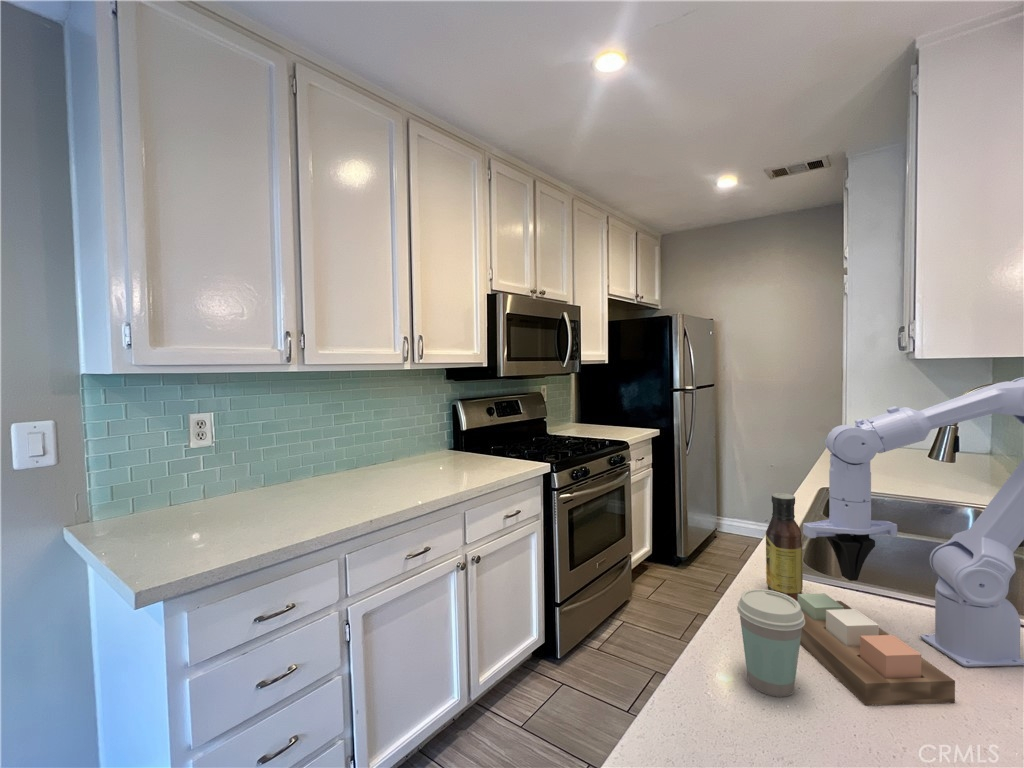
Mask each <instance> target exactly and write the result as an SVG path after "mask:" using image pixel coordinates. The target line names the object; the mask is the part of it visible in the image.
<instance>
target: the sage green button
mask: <svg viewBox="0 0 1024 768" xmlns="http://www.w3.org/2000/svg"><path fill="white" fill-rule="evenodd" d="M836 601H837V600H835V599H833V598H832V597H831V596H829V595H828V594H827V593H825V592H824V593H802V594H798V599H797V602H798V603H799V604H800V607H801V610H803V611H804V612H805V613H806V614H807V615H809V616H810V617H811V618H812V619H813V620H826V610H838V609H844V607H843V606H842V605H840V604H839V603H838V602H836Z"/></svg>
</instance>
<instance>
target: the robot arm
mask: <svg viewBox="0 0 1024 768" xmlns="http://www.w3.org/2000/svg"><path fill="white" fill-rule="evenodd" d="M992 414H1000V415H1010V416H1012V417H1014V418H1015V419H1016V420H1017V421H1018V422H1019V423H1020V424H1021V425H1023V426H1024V376H1022V377H1019V378H1015V379H1013V380H1011V381H1002V382H997V383H994V384H992V385H988V386H985V387H981V388H980V389H977V390H974V391H972V392H968V393H966V394H962V395H960V396H957V397H955V398H952V399H948V400H946V401H943V402H940V403H937V404H935V405H931V406H930V407H926V408H924V409H921V410H916V409H913V408H911V407H908V406H904V407H900V408H899V406H895V405H894V406H890V407H888V408H886V412H885V413H882V414H879V415H876V416H873V417H869V418H867V419H863V418H862V417H861V418H860V417H859V418H857V419H854V424H855V425H852V424H841V425H838V426H835V427H833V428H832V429H831V431H829V433H828V434H827V438H826V439H825V440H824V442H825V447H826V449H827V450H828V451H829V453H830V455H829V456H830V457H829V459H830V460H829V463H830V464H829V465H830V466H829V470H828V471H829V474H828V479H829V480H828V481H829V482H828V483H829V485H828V486H829V487H828V490H829V492H828V493H829V495H828V496H829V501H828V502H829V503H828V504H829V505H828V507H829V512H828V513H829V516H828V519H823V520H818V521H813V522H803V523H802V531H803V533H802V535H804V536H805V537H807V538H810V539H816V538H817V537H825V538H826V539H827V541H828V543H829V545H830V546H831V548H832V550H833V552H834V555H835V557H836V560H837V562H838V566H839V570H840V574H841V576H842V577H843V578H845V579H847V580H848V581H850V582H852V581H854V582H855V581H856V582H858V580H859V576H860V574H861V571H862V567H863V565H864V564H865V561H866V559H867V558H868V556H869V555H870V553H871V552H872V551H873V549H875V547H876V541H875V539H873V538H871V537H870V536H890V537H897V536H898V524H897V523H894V522H891V521H889V520H872V472H871V461H872V460H873V459H874V458H875V457H876V455H877V453H878V454H883V453H887V452H889V451H893V450H896V449H897V450H898V449H901V448H903V447H906V446H910V445H913V444H917V443H920V442H924V441H925V440H926V439H927V437H928V436H929V434H930V432H931V431H932V430H935V429H939V428H942V427H947V426H950V425H954V424H959V423H962V422H966V421H970V420H973V419H974V420H975V419H977V418H981V417H984V416H988V415H992ZM1023 541H1024V458H1023V459H1021V461H1020V462H1019V464H1018V465H1017V466H1016V468H1015V469H1014V471H1012V473H1011V474H1010V475H1009V477H1008V478H1007V479H1006V481H1005V482H1004V483H1003V485H1002V486H1000V488H999V490H998V492H996V494H995V495H994V496H993V498H992V499H991V500H990V501H989V502H988V504H987V505H986V507H985V508H984V509H983V510H982V511H981V513H980V514H979V516H978V517H977V518H976V519H975V521H974V522H973V524H972V525H971V526H970V527H969V528H968V529H965V530H963V531H960V532H956V533H954V534H953V535H952V536H951V538H950V539H949V540H948V541H947V542H945V543H941V544H940V545H938V546H936V547H934V549H933V550H932V551H931V553H930V555H929V565H930V567H931V569H932V571H933V572H934V573H935V574H936V575H937V576H938V580H937V582H936V583H935V587H934V588H935V592H934V593H935V594H934V596H935V598H934V601H935V602H934V603H935V604H934V606H935V610H934V613H935V614H934V615H935V616H934V624H935V625H934V633H928V634H927V633H926V634H920V635H919V638H920V639H921V640H923V641H924V642H926V643H927V644H929V645H931V646H932V647H934V648H935V649H937V650H938V651H940V653H943V654H944V655H945V656H947V657H949V658H950V659H952V660H954V662H956V663H958V664H959V665H960V666H963V667H966V668H967V667H969V668H970V667H971V668H972V667H974V668H975V667H1001V666H1002V667H1003V666H1004V667H1005V666H1024V659H1023V658H1021V623H1022V622H1021V618H1020V615H1019V613H1018V610H1017V609H1016V607H1015V606H1014V604H1013V603H1011V602H1010V600H1008V598H1007V596H1008V593H1009V587H1010V586H1009V585H1010V584H1009V583H1010V580H1011V578H1012V576H1013V575H1014V574H1015V573H1016V570H1017V569H1016V563H1015V557H1014V552H1015V551H1016V550H1017V548H1019V546H1020V545H1021V543H1022V542H1023ZM1006 598H1007V599H1006Z"/></svg>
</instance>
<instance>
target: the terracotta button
mask: <svg viewBox="0 0 1024 768" xmlns="http://www.w3.org/2000/svg"><path fill="white" fill-rule="evenodd" d="M921 657H922V653H920V652H919V651H917V650H916V649H914V648H913V647H911V646H910V645H908V644H907V643H905V642H904V641H902V640H901V639H900V638H898V637H897V636H895V635H894V634H889V635H872V636H860V658H861V659H862V660H863V661H864V662H866V663H867V664H868V665H869V666H871V667H872V668H873V669H874V670H875V671H877V672H878V673H879V674H880V675H881V676H883V677H884V678H885V679H898V678H921Z"/></svg>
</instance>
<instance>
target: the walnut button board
mask: <svg viewBox="0 0 1024 768" xmlns="http://www.w3.org/2000/svg"><path fill="white" fill-rule="evenodd" d="M835 601H836V602H838V603H839V604H840V605H842V606H843V607H844V609H853V608H852V607H850V606H849V605H848V604H846V603H845V602H843V601H842V600H835ZM802 612H803V614H804V619H805V624H804V626H803V627H802V632H801V640H800V646H802V647H803V649H805V650H806V651H807V652H808V653H809V654H810V655H812V656H813V657H814V659H816V660H817V661H818V662H819V663H820V664H821V665H822V666H823V667H824V668H825V669H826V670H827V671H828V672H829V673H830V674H832V675H833V676H834V677H835V679H836V680H838V681H839V682H840V683H841V684H842V685H843V686H844V687H845V688H846V689H848V691H850V693H852V694H853V695H854V696H855V697H856V698H857V699H858V700H859V701H860V702H861V703H863V704H864V705H865V706H891V705H892V706H894V705H898V706H899V705H928V704H929V705H930V704H955V703H956V700H955V699H956V680H955V679H953V678H952V677H950V676H949V675H948V674H946V673H945V672H943V671H942V670H940V669H939V668H937V667H936V666H934V665H933V664H932V663H931V662H928V660H926V659H925V658H923V657H922V656H921V678H898V679H885V678H884V677H883V676H881V675H880V674H879V673H878V672H877V671H875V670H874V669H873V668H872V667H871V666H869V665H868V664H867V663H866V662H864V661H863V660H862V659H861V658H860V646H850V647H846V646H845V645H844V644H843V643H841V642H840V641H839V640H838V639H837V638H835V637H834V636H833V635H832V634H830V633H829V632H828V631H827V630H826V620H813V619H812V618H811V617H810V616H809V615H807V614H806V613H805V612H804V611H803V610H802ZM879 635H890V634H888V633H887V632H886V631H884V630H883V629H882V628H880V627H879Z"/></svg>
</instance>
